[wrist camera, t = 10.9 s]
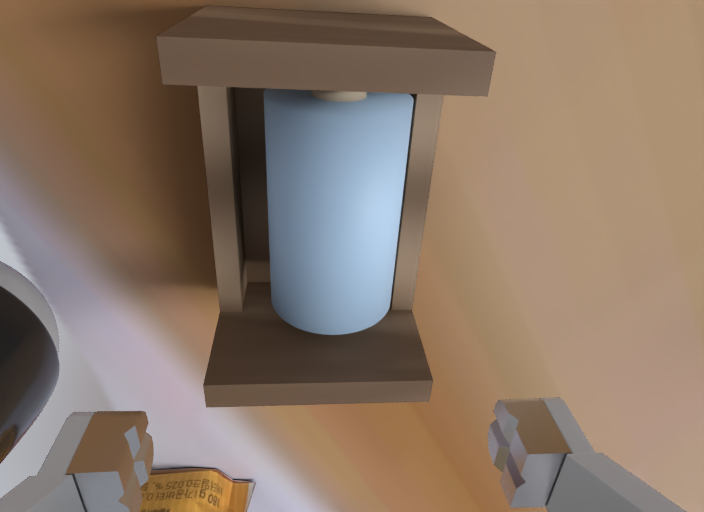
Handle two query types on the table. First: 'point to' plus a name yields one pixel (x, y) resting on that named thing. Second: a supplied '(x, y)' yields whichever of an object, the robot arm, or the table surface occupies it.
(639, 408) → the table surface
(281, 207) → the blue roll
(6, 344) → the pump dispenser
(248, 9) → the open wooden box
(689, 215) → the table surface
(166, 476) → the pancake mix bag
